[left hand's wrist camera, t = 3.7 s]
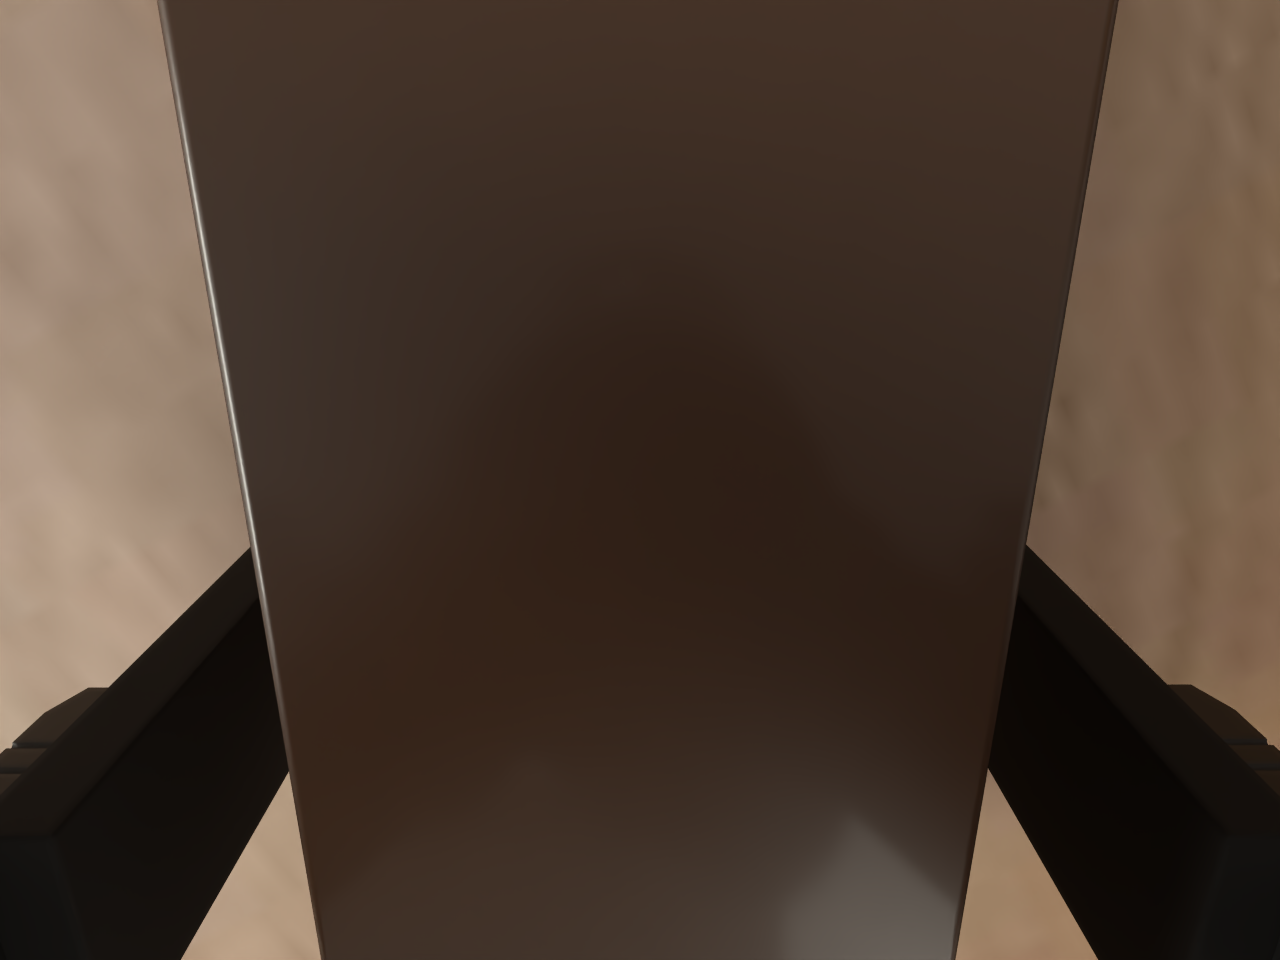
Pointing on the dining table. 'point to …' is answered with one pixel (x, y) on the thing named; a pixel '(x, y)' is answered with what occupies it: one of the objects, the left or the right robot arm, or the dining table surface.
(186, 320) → the dining table surface
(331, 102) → the beam
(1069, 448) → the dining table surface
